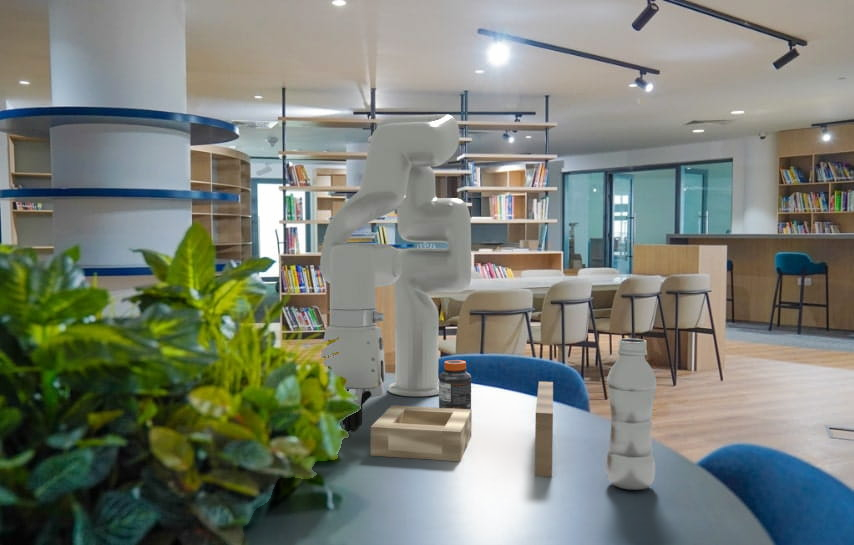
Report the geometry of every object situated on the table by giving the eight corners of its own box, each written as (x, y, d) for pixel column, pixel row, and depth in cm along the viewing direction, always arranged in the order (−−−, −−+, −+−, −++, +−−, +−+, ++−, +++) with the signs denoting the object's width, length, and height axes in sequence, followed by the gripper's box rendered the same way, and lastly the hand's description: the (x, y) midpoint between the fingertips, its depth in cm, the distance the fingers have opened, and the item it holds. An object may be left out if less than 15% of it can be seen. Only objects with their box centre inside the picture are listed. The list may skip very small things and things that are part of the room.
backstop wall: (538, 432, 118) (538, 381, 117) (552, 433, 117) (552, 382, 117) (534, 475, 96) (535, 412, 96) (552, 476, 96) (552, 413, 95)
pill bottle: (471, 418, 127) (472, 358, 127) (470, 427, 121) (471, 364, 121) (440, 417, 128) (440, 357, 127) (437, 426, 122) (437, 363, 121)
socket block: (391, 430, 119) (391, 405, 118) (471, 435, 116) (471, 409, 116) (370, 455, 105) (370, 426, 105) (460, 461, 102) (460, 431, 102)
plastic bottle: (663, 486, 92) (666, 340, 91) (641, 499, 87) (644, 345, 86) (619, 475, 97) (622, 335, 96) (596, 487, 92) (598, 340, 91)
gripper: (401, 318, 114) (401, 426, 115) (317, 315, 117) (317, 421, 117) (391, 323, 107) (390, 438, 107) (301, 320, 109) (301, 433, 110)
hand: (352, 429), depth 112 cm, fingers closed
